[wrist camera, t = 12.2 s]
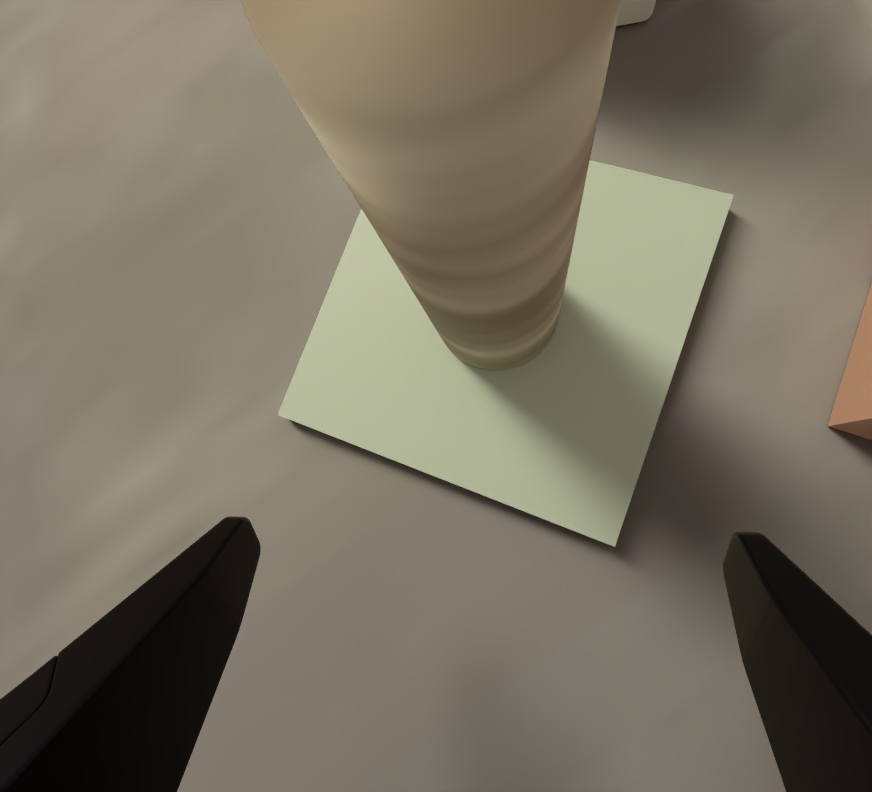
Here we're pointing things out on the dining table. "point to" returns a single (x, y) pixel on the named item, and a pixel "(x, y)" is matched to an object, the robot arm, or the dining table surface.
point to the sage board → (533, 381)
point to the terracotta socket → (857, 382)
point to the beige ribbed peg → (457, 144)
